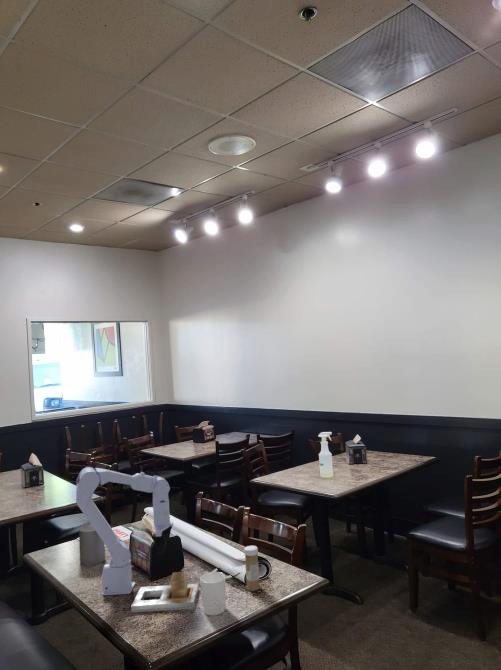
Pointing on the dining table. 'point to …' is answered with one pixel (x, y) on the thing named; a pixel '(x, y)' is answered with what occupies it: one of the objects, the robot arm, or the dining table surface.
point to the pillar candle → (90, 546)
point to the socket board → (163, 599)
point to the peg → (179, 585)
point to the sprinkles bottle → (252, 567)
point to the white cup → (213, 592)
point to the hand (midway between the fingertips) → (163, 549)
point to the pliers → (225, 576)
